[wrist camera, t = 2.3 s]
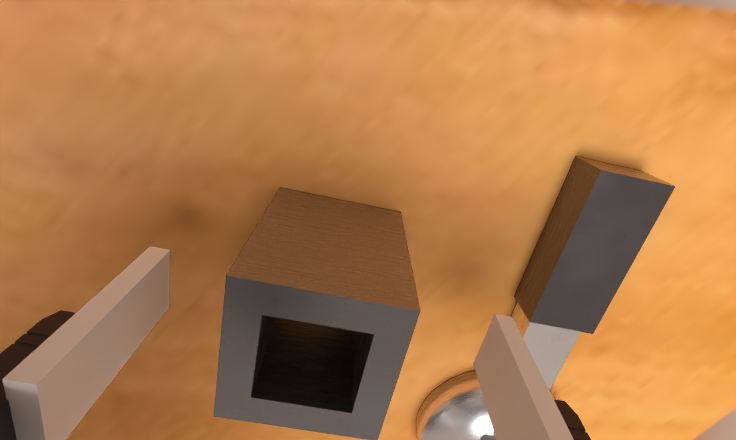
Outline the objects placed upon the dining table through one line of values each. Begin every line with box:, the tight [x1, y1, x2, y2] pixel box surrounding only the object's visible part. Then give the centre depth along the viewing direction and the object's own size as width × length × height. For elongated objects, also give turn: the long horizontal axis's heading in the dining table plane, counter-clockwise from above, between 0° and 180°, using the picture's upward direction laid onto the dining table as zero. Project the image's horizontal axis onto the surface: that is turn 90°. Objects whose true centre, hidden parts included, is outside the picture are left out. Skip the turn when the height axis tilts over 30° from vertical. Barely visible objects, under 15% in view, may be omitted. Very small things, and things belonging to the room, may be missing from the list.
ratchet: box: [416, 156, 675, 440], centre depth 20 cm, size 9×22×6 cm, turn 168°
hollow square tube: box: [214, 188, 420, 440], centre depth 17 cm, size 6×6×8 cm
